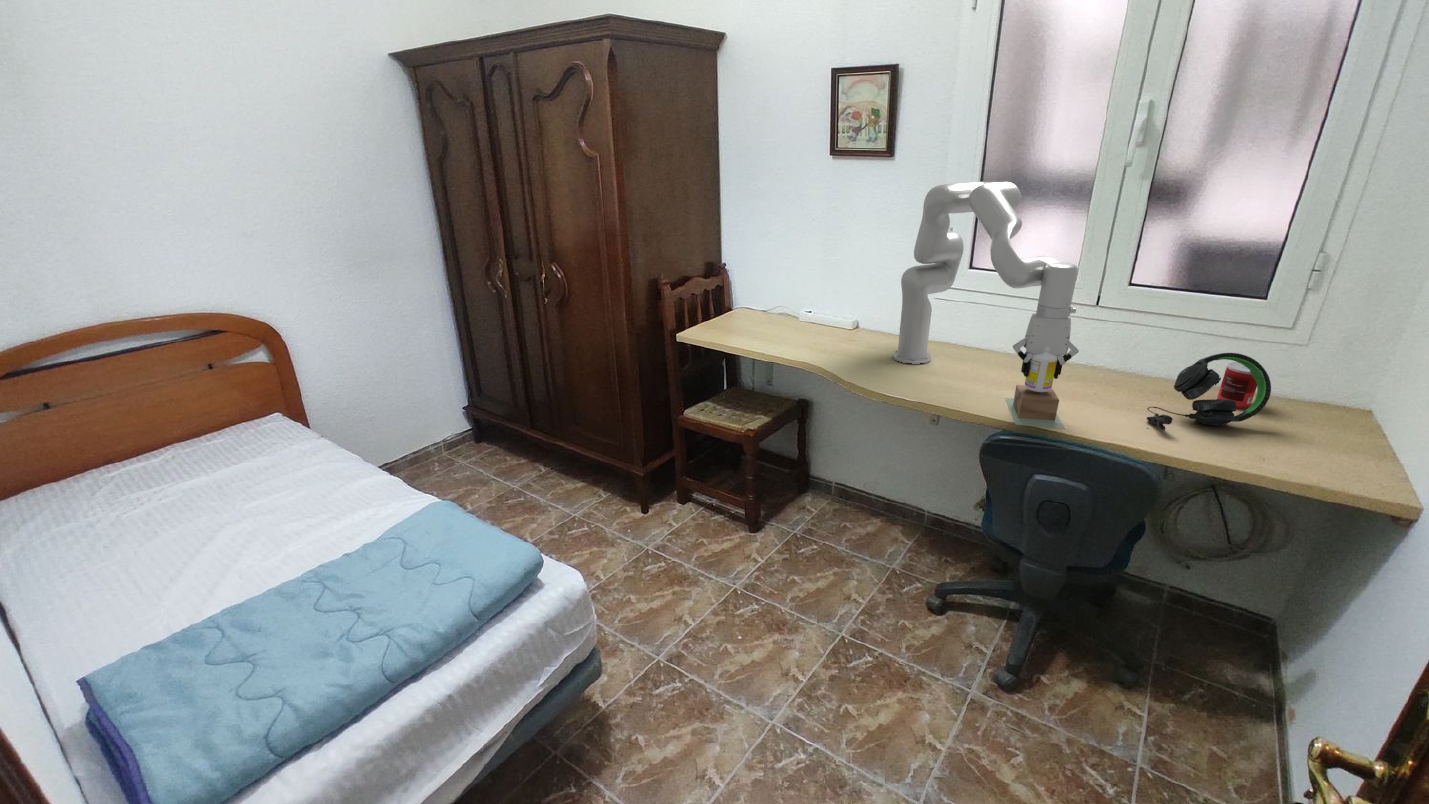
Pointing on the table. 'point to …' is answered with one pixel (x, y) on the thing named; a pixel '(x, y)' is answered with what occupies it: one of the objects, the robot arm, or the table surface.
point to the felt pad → (1032, 422)
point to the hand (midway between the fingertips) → (1039, 375)
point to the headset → (1216, 410)
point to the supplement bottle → (1041, 372)
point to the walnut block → (1035, 404)
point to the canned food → (1238, 385)
